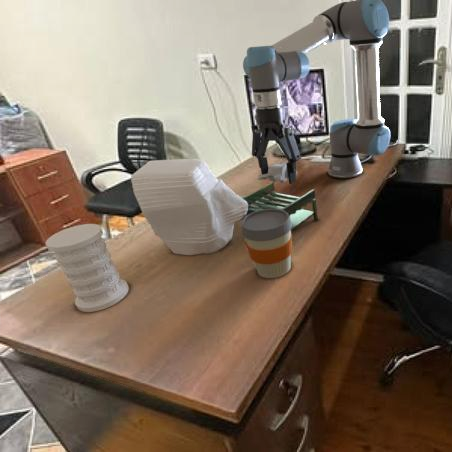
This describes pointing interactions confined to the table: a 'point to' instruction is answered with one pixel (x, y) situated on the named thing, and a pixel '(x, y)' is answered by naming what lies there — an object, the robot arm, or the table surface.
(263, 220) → the reusable coffee cup
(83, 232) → the decorative container
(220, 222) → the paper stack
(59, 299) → the table surface
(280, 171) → the bunny figurine
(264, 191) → the rack
